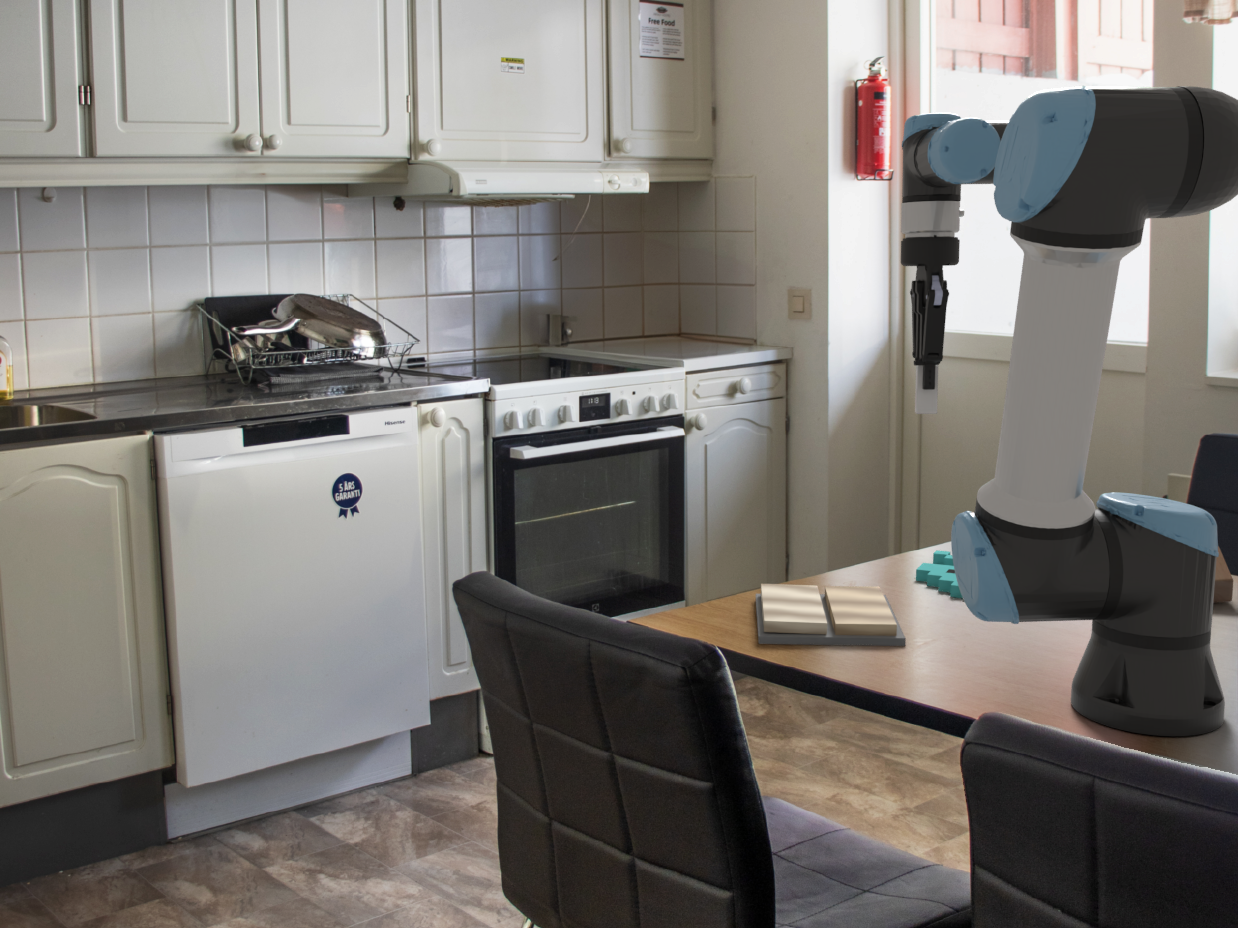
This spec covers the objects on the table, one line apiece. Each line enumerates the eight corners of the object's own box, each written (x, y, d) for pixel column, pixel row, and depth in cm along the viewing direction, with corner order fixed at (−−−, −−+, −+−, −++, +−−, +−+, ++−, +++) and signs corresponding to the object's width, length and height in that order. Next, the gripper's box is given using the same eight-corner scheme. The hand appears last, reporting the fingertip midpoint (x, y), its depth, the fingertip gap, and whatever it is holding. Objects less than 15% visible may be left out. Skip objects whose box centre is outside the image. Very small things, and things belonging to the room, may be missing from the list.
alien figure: (936, 563, 194) (904, 594, 177) (936, 550, 194) (904, 579, 176) (1066, 576, 185) (1046, 610, 168) (1067, 562, 185) (1047, 595, 167)
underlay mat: (905, 645, 152) (905, 638, 152) (758, 643, 154) (758, 636, 153) (885, 601, 172) (885, 594, 171) (755, 600, 173) (755, 593, 173)
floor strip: (896, 635, 153) (896, 624, 153) (835, 634, 154) (835, 623, 153) (879, 596, 170) (879, 586, 170) (824, 596, 171) (824, 585, 171)
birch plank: (826, 634, 154) (827, 623, 153) (764, 631, 154) (764, 620, 154) (816, 595, 171) (817, 585, 171) (760, 593, 172) (761, 583, 172)
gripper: (970, 233, 152) (965, 418, 155) (948, 236, 164) (943, 407, 168) (910, 235, 152) (906, 419, 156) (893, 237, 165) (889, 408, 169)
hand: (925, 413), depth 162 cm, fingers closed
